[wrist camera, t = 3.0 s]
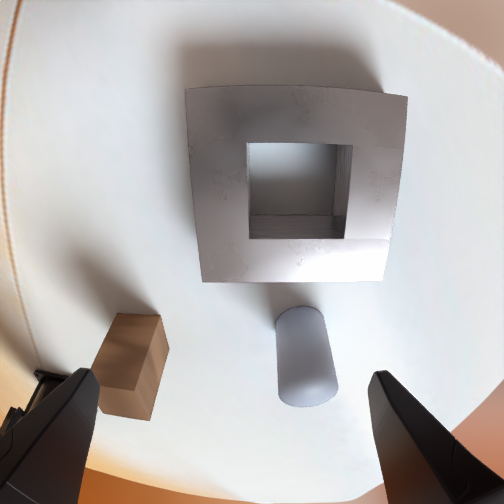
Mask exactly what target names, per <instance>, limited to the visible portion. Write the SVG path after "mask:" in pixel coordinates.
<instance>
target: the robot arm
mask: <svg viewBox="0 0 504 504" xmlns="http://www.w3.org/2000/svg"><path fill="white" fill-rule="evenodd" d="M34 375H35V377H36V378H37V380H38V381H39V383H38V385H37V387H36V389H35V391H34V393H33V395H32V397H31V399H30V401H29V403H28V405H27V407H26V409H25V411H23V409H21V408H20V407H18V409H16V408H13V407H11V408H10V409H9V411H8V413H7V415H6V418H5V420H4V422H3V424H2V426H1V428H0V504H78V498H79V493H80V487H81V483H82V478H83V473H84V469H85V464H86V460H87V456H88V451H89V447H90V443H91V439H92V435H93V431H94V426H95V420H96V414H97V407H98V401H99V395H100V384H99V382H98V380H97V378H96V376H95V374H94V373H93V371H92V370H91V369H89V368H79V369H78V370H76V371H75V372H74V373H73V374H72V375H71V376H69V377H66V376H61V375H56V374H52V373H48V372H43V371H39V370H35V371H34ZM368 398H369V406H370V413H371V421H372V429H373V436H374V440H375V445H376V449H377V453H378V457H379V462H380V466H381V471H382V475H383V480H384V484H385V489H386V494H387V499H388V504H504V479H502V478H501V477H500V476H498V475H497V474H496V473H495V472H493V471H492V470H491V469H490V468H488V467H487V466H486V465H484V464H483V463H482V462H481V461H480V460H478V459H477V458H476V457H475V456H474V455H472V454H471V453H470V452H469V451H468V450H467V449H466V448H465V447H464V446H463V445H462V444H461V443H460V442H459V441H458V440H457V439H456V440H455V437H454V436H453V435H452V434H451V433H450V432H449V431H448V430H447V429H446V428H445V427H444V426H443V425H442V424H441V423H440V422H439V421H438V420H437V419H436V418H435V417H434V416H433V415H432V414H431V413H430V412H429V411H428V410H427V409H426V408H425V407H424V406H423V405H422V404H421V403H420V402H419V401H418V400H417V399H416V398H415V397H414V396H413V395H412V394H411V393H410V392H409V391H408V390H407V389H406V388H405V387H404V386H403V385H402V384H401V383H400V382H399V381H398V380H397V379H396V378H395V377H394V376H393V375H392V374H391V373H390V372H388V371H387V370H382V371H376V372H374V374H373V376H372V379H371V381H370V384H369V386H368Z"/></svg>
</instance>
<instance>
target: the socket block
mask: <svg viewBox="0 0 504 504" xmlns="http://www.w3.org/2000/svg"><path fill="white" fill-rule="evenodd" d="M185 100H186V117H187V133H188V147H189V159H190V172H191V183H192V194H193V204H194V214H195V224H196V233H197V242H198V251H199V260H200V268H201V276H202V282H332V281H372V280H382V277H383V272H384V268H385V263H386V259H387V254H388V249H389V244H390V239H391V234H392V228H393V223H394V217H395V211H396V205H397V198H398V192H399V185H400V177H401V170H402V161H403V152H404V142H405V131H406V118H407V102H408V97H407V96H401V95H394V94H388V93H380V92H373V91H364V90H355V89H345V88H333V87H317V86H294V85H242V86H219V87H204V88H191V89H185ZM249 143H321V144H338V146H337V163H336V178H335V192H334V204H333V215H251V210H250V168H249Z"/></svg>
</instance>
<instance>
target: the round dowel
mask: <svg viewBox="0 0 504 504" xmlns="http://www.w3.org/2000/svg"><path fill="white" fill-rule="evenodd" d="M275 327H276V348H277V371H278V395H279V398H280V399H281V401H283V402H284V403H286V404H288V405H290V406H294V407H312V406H317V405H320V404H323V403H325V402H327V401H328V400H330V399H331V398H332V397H334V396H335V394H336V393H337V391H338V382H337V377H336V372H335V367H334V362H333V357H332V353H331V348H330V343H329V339H328V334H327V329H326V325H325V320H324V317H323V315H322V314H321V313H320V312H319V311H318V310H316V309H314V308H312V307H307V306H298V307H293V308H290V309H288V310H286V311H285V312H283V313H282V314H281V315H280V316H279V317H278V319H277V321H276V325H275Z"/></svg>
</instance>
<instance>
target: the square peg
mask: <svg viewBox="0 0 504 504" xmlns="http://www.w3.org/2000/svg"><path fill="white" fill-rule="evenodd" d="M168 352H169V346H168V342H167V338H166V335H165V331H164V327H163V323H162V319H161V315H141V314H124V313H117V315H116V317H115V319H114V321H113V323H112V325H111V327H110V329H109V331H108V333H107V335H106V337H105V339H104V341H103V343H102V345H101V347H100V349H99V351H98V353H97V356H96V358H95V360H94V362H93V364H92V366H91V370H92V371H93V373H94V374H95V376H96V378H97V380H98V382H99V384H100V395H99V401H98V406H99V408H100V409H101V411H102V412H103V413H104V414H110V415H115V416H121V417H126V418H133V419H139V420H146V421H150V418H151V415H152V411H153V407H154V403H155V399H156V395H157V392H158V388H159V384H160V380H161V377H162V373H163V370H164V366H165V362H166V359H167V355H168Z"/></svg>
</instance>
